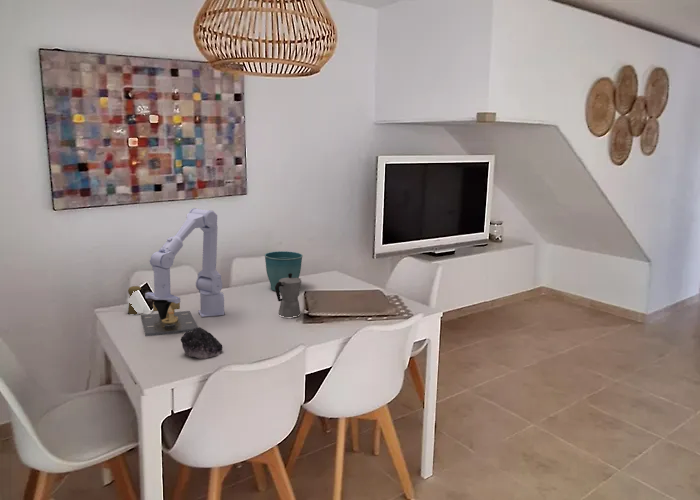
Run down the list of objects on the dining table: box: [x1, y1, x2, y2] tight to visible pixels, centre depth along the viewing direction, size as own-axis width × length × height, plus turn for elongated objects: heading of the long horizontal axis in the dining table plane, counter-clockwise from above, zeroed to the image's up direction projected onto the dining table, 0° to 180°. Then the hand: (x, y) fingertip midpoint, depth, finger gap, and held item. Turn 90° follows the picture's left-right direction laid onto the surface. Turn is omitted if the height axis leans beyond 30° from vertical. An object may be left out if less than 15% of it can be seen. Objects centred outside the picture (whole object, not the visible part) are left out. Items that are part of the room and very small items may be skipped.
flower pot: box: [264, 250, 303, 292], centre depth 274 cm, size 18×18×17 cm
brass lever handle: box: [162, 306, 178, 325], centre depth 217 cm, size 6×10×5 cm, turn 24°
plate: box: [140, 310, 199, 337], centre depth 222 cm, size 19×22×2 cm
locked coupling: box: [152, 302, 181, 313], centre depth 227 cm, size 6×10×5 cm, turn 114°
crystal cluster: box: [180, 326, 224, 360], centre depth 195 cm, size 13×14×10 cm
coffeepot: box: [274, 273, 302, 317], centre depth 235 cm, size 15×9×18 cm, turn 145°
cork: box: [127, 285, 142, 315], centre depth 232 cm, size 6×6×11 cm
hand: (163, 318), depth 214 cm, fingers closed
